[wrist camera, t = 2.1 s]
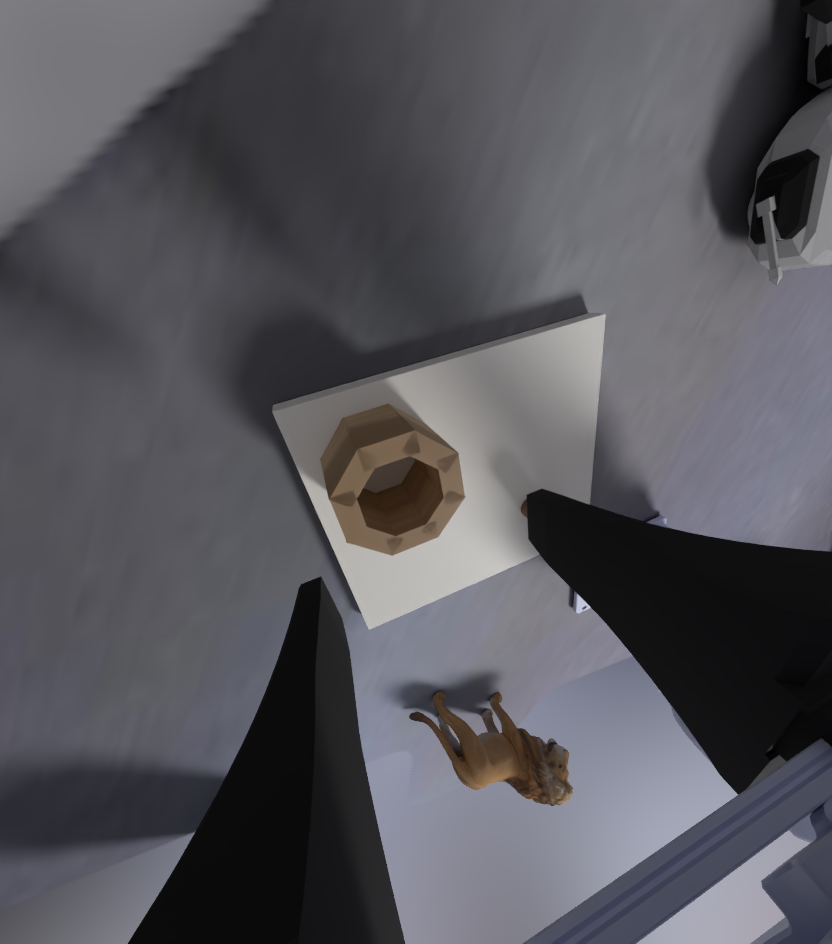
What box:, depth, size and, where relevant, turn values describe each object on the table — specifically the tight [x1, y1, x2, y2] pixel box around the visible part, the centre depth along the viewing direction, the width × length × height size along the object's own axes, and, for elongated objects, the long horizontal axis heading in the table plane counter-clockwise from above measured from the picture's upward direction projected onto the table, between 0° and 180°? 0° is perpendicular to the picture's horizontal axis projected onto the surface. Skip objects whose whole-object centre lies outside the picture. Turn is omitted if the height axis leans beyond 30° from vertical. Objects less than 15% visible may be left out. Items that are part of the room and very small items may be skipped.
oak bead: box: [320, 404, 465, 556], centre depth 16 cm, size 6×6×4 cm
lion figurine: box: [409, 691, 573, 806], centre depth 31 cm, size 15×5×9 cm, turn 66°
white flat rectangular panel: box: [272, 313, 606, 630], centre depth 21 cm, size 18×16×1 cm
